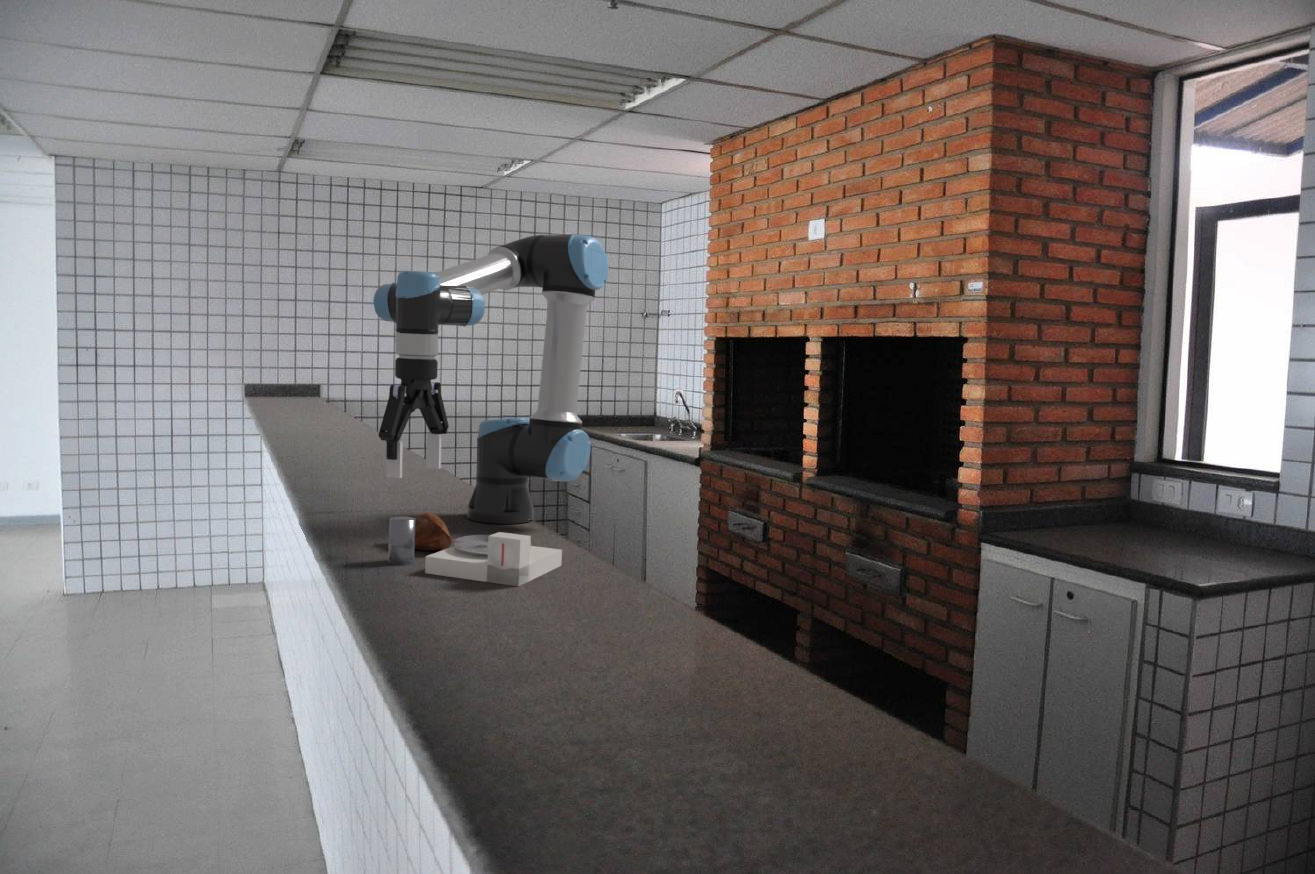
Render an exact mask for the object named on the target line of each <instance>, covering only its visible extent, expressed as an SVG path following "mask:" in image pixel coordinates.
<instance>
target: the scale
mask: <svg viewBox="0 0 1315 874" xmlns="http://www.w3.org/2000/svg"><path fill="white" fill-rule="evenodd" d="M489 535H490V536H488V555H481V554H472V553H467V552H462V551H459V550H457V549H455V548H454V547H453V546H450V547H448V548H446V549H441V550H439V551H437V552H435V553H431V554H428V555H426V556H425V564H424V574H428V575H437V576H441V577H443V576H444V577H450V578H456V579H463V580H470V581H471V580H472V581H479V582H483V583H492V584H499V585H505V586H514V587H520V586H522V585H524V584H526V583H529V582H531V581H533V580H535V579H537V578H539V577H541V576H543V575H545V574H547V573H549V572H551V571H553V570H555V569H557V568H559V567H562V561H563V559H562V558H563V557H562V556H563V549H560V548H551V547H543V546H535V545H531V549H530V542H531V543H532V541H531V537H532V535H526V534H519V533H518V534H517V533H509V532H503V531H502V532H501V531H499V532H495V533H493V534H489Z"/></svg>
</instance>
